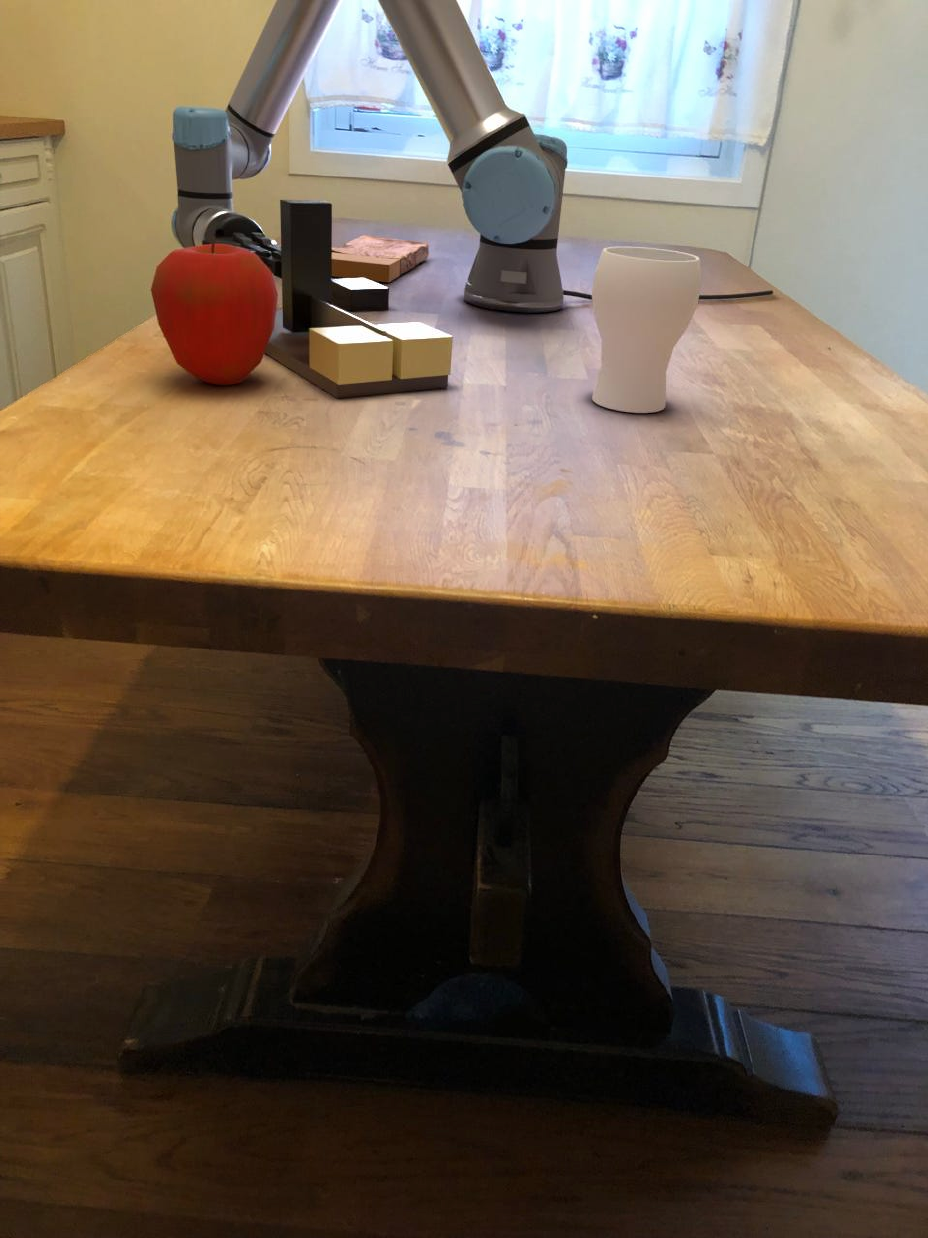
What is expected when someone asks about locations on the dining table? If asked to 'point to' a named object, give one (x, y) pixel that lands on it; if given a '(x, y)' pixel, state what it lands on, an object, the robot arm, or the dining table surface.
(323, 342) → the butter
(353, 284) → the dark rectangular block
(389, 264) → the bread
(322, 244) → the butter slicer
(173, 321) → the apple
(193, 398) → the dining table surface
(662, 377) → the cup
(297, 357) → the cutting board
